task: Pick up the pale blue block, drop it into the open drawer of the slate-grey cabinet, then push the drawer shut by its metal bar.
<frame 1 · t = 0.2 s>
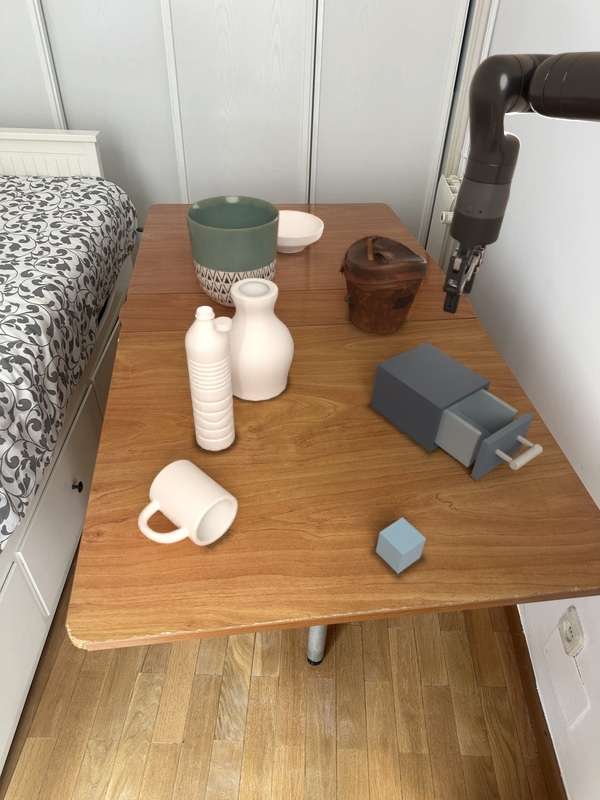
hand: (457, 301, 93), 19 cm above the table, tool pointing down, fingers open, 8 cm apart
planter: (236, 301, 128), on the table
mug: (185, 528, 77), on the table
vase: (256, 381, 104), on the table
block: (397, 554, 75), on the table
bowl: (287, 248, 153), on the table
drawer: (482, 431, 88), point 5 cm above the table, slide at 8.0 cm
case: (375, 319, 124), on the table
water bottle: (219, 442, 91), on the table
cabinet: (423, 414, 98), on the table
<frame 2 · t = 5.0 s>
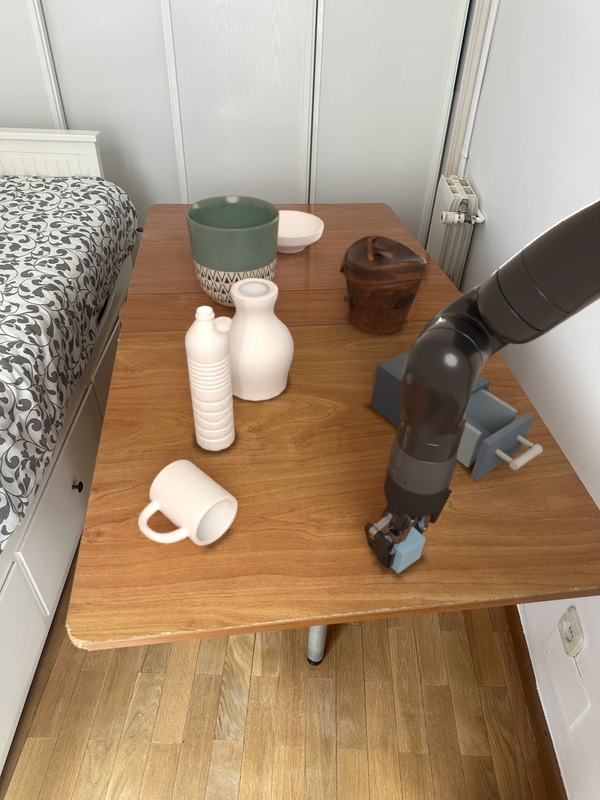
hand: (398, 553, 75), 0 cm above the table, tool pointing down, fingers closed on block, 4 cm apart
block: (397, 554, 75), on the table, touching gripper
everything else where it was.
when the fingers open (8 cm above the table, at t = 11.5 s): block stays where it is, resting on drawer.
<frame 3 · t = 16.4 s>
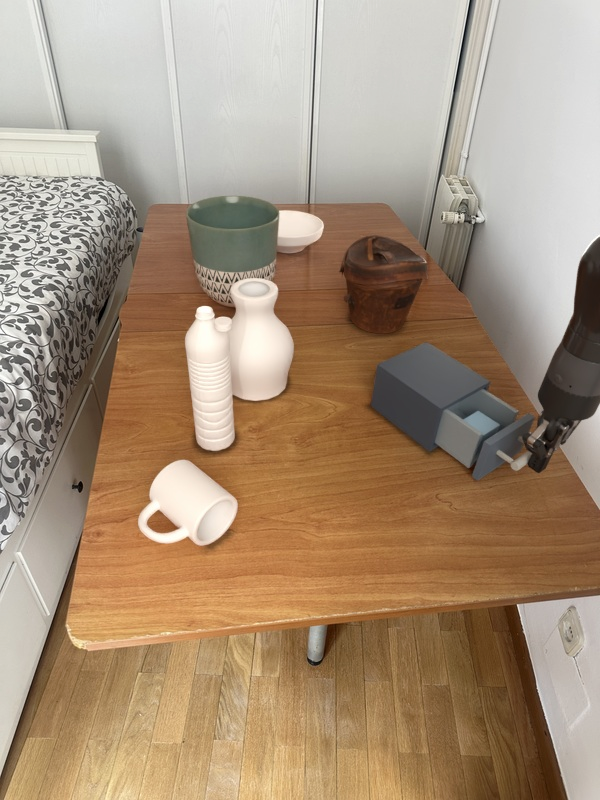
hand: (535, 467, 82), 5 cm above the table, tool pointing down, fingers closed
block: (474, 442, 90), point 2 cm above the table, touching drawer
drawer: (482, 432, 88), point 5 cm above the table, slide at 8.2 cm, touching block
everything else where it was.
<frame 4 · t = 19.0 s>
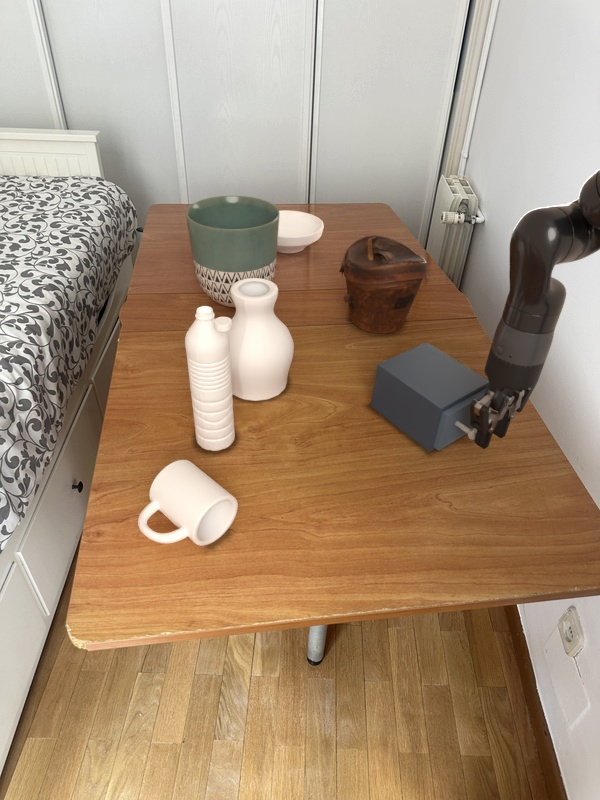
hand: (489, 439, 86), 5 cm above the table, tool pointing down, fingers open, 3 cm apart
block: (437, 415, 95), point 2 cm above the table, touching drawer
drawer: (444, 406, 93), point 5 cm above the table, slide at 0.0 cm, touching block, cabinet
everything else where it was.
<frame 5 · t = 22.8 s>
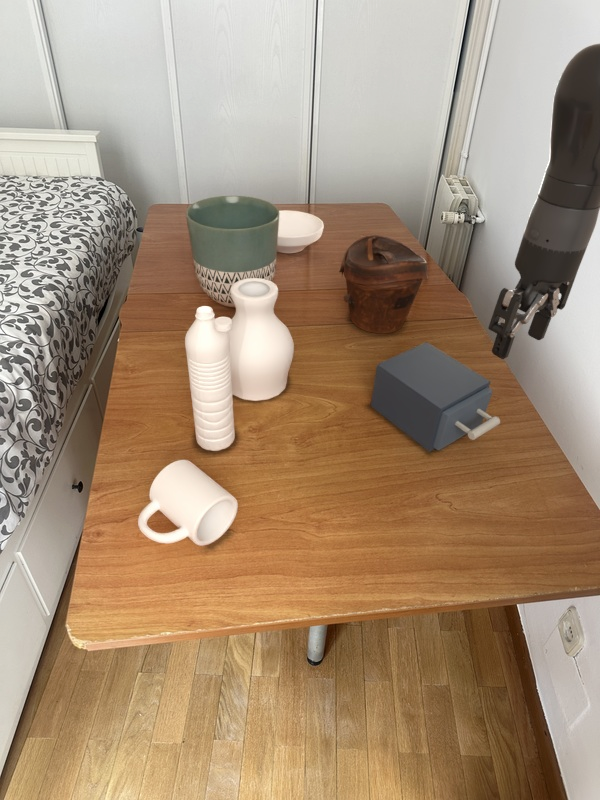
hand: (517, 346, 76), 22 cm above the table, tool pointing down, fingers open, 8 cm apart
nothing on the table moved.
at the end: block inside the target area in the cabinet (3.0 cm from its centre), point 2.0 cm above the cabinet's base; drawer slide at 0.0 cm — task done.
